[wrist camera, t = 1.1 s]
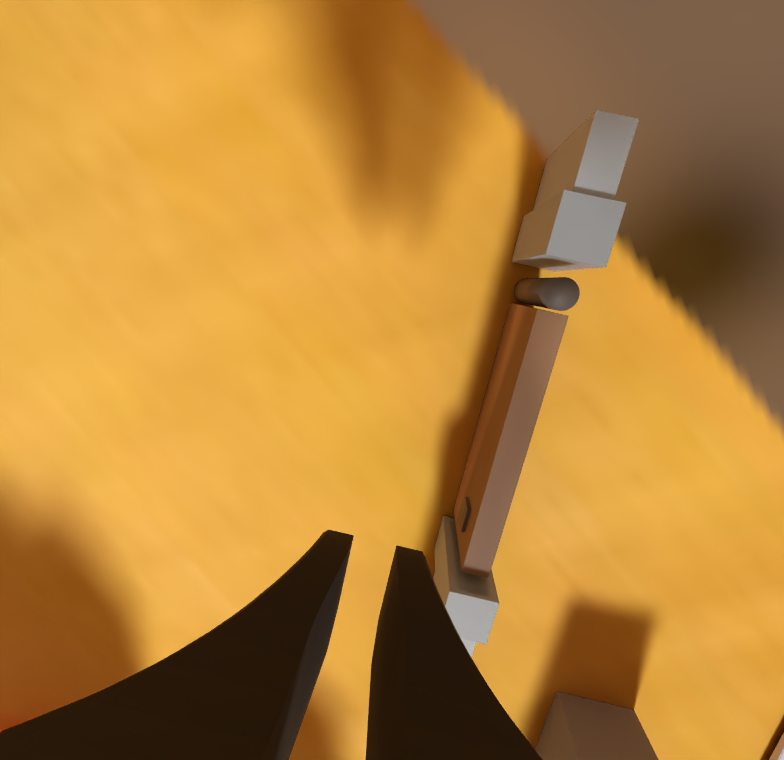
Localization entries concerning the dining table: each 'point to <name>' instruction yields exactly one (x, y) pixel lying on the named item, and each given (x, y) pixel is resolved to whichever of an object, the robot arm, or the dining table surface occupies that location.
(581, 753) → the block
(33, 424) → the dining table surface
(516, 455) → the door
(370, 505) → the dining table surface
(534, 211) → the wall
